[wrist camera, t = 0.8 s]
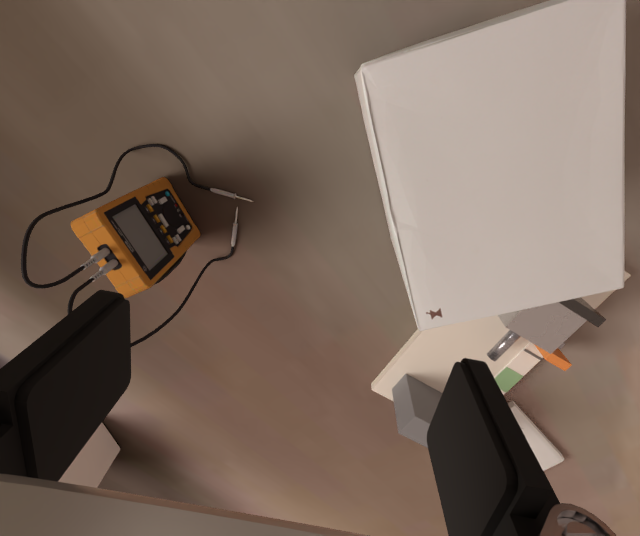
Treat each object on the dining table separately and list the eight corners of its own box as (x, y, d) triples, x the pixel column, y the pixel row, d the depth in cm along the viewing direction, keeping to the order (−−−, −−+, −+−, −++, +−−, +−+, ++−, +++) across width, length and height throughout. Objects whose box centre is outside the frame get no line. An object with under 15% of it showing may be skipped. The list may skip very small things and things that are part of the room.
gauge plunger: (525, 260, 41) (550, 284, 36) (594, 304, 43) (626, 332, 38) (460, 331, 45) (475, 361, 40) (525, 368, 47) (547, 402, 42)
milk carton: (97, 413, 56) (-13, 557, 39) (121, 448, 59) (29, 597, 42) (55, 422, 58) (-69, 565, 40) (81, 456, 60) (-25, 604, 43)
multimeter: (275, 238, 44) (224, 345, 25) (199, 270, 46) (103, 390, 28) (205, 108, 38) (80, 126, 20) (124, 152, 41) (-55, 203, 23)
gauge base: (524, 204, 40) (564, 230, 33) (623, 270, 43) (682, 308, 35) (371, 383, 51) (375, 433, 44) (457, 428, 54) (475, 483, 46)
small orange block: (539, 336, 45) (552, 353, 42) (558, 348, 45) (571, 364, 43) (533, 343, 45) (545, 359, 42) (551, 354, 46) (564, 371, 43)
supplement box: (516, 211, 41) (630, 293, 24) (389, 242, 43) (416, 337, 27) (498, 25, 34) (639, -33, 18) (349, 73, 37) (353, 61, 20)
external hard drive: (507, 475, 58) (458, 426, 54) (559, 450, 55) (511, 397, 52) (511, 485, 56) (461, 436, 53) (565, 460, 53) (516, 406, 50)
